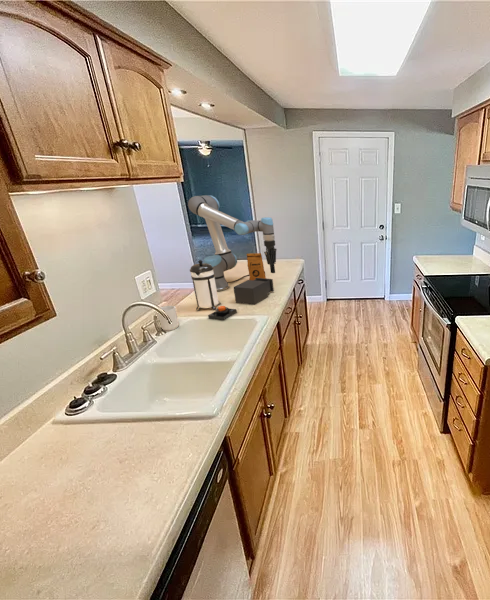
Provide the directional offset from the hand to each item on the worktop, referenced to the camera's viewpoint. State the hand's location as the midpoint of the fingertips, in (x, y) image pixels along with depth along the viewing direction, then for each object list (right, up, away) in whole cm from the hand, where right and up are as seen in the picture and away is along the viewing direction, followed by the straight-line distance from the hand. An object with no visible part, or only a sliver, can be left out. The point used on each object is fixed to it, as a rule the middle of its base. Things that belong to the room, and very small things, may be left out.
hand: (273, 272), depth 238 cm
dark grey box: (-7, -20, -22) cm, 30 cm away
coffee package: (-17, -5, +18) cm, 25 cm away
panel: (-16, -29, -47) cm, 57 cm away
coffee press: (-30, -24, -33) cm, 51 cm away
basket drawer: (-4, -15, -11) cm, 19 cm away
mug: (-37, -34, -61) cm, 79 cm away
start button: (-16, -25, -48) cm, 56 cm away
